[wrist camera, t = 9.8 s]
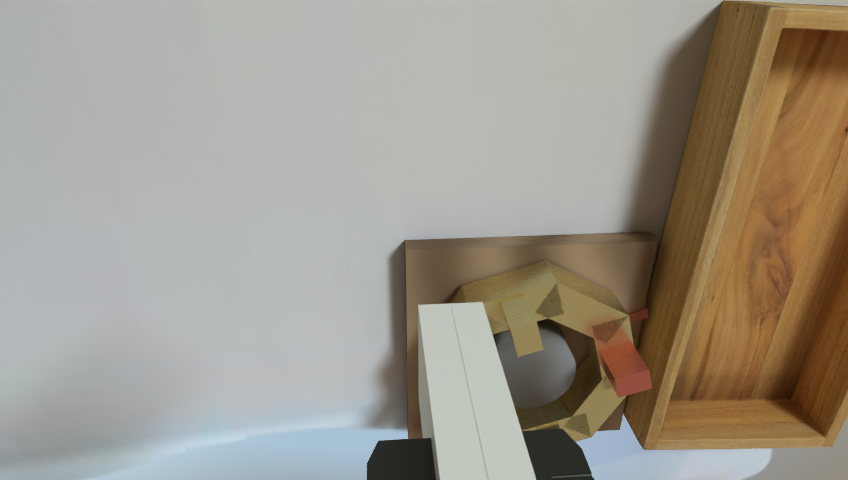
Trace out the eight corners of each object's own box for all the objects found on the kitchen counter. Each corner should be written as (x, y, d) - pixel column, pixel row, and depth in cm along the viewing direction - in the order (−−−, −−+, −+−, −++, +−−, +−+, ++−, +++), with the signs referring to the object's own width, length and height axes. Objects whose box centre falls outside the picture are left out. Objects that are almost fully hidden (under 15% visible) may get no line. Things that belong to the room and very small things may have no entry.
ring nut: (403, 302, 40) (408, 355, 35) (604, 243, 39) (640, 289, 34) (457, 443, 47) (467, 506, 42) (631, 395, 46) (664, 453, 41)
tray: (717, -3, 35) (775, 7, 30) (952, 10, 36) (1045, 22, 31) (614, 398, 49) (641, 451, 44) (786, 396, 50) (833, 448, 45)
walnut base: (407, 427, 48) (410, 470, 44) (404, 240, 40) (408, 272, 36) (617, 416, 49) (638, 456, 45) (653, 231, 41) (682, 261, 38)
